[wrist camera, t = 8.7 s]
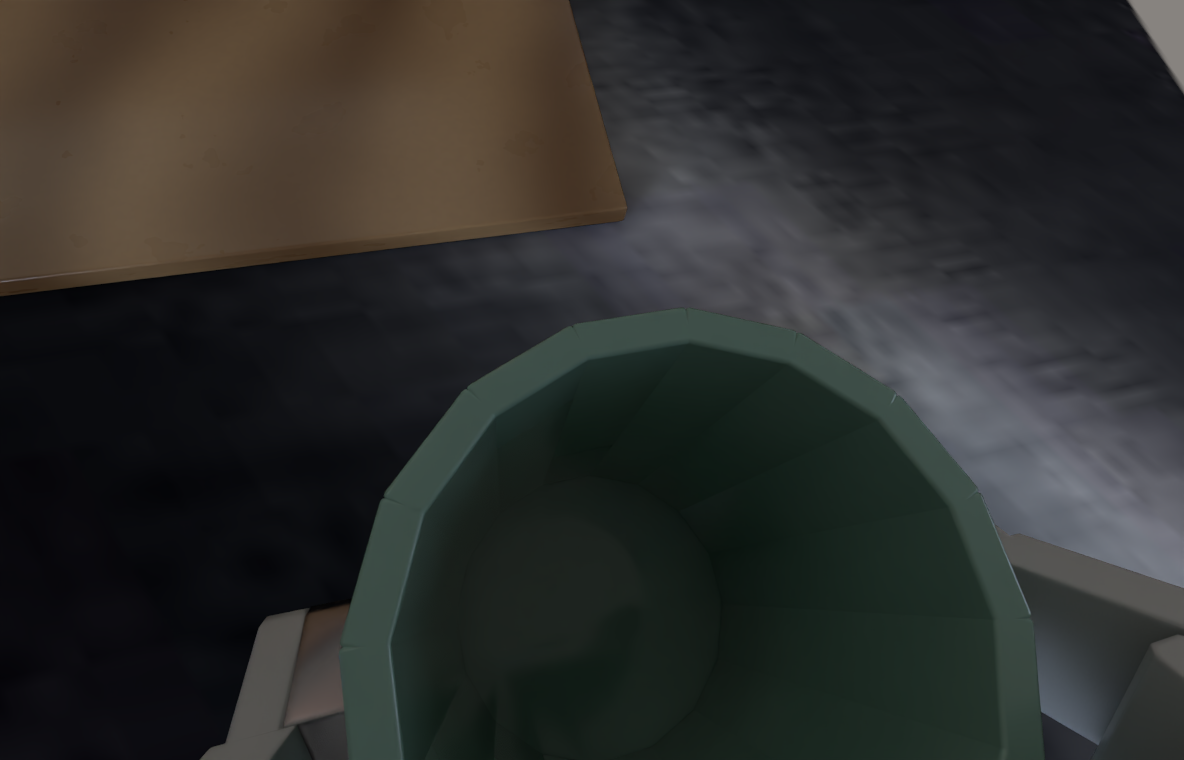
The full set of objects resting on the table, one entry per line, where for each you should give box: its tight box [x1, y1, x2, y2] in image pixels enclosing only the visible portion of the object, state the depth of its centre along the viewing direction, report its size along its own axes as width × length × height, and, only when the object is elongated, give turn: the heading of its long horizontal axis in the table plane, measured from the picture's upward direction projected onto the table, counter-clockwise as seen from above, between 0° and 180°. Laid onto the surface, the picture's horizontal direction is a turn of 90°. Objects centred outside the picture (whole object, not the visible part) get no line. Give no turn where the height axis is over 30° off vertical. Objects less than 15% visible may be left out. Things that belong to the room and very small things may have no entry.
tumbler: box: [339, 308, 1045, 760], centre depth 9 cm, size 6×6×8 cm
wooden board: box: [0, 0, 627, 296], centre depth 15 cm, size 24×15×1 cm, turn 103°
